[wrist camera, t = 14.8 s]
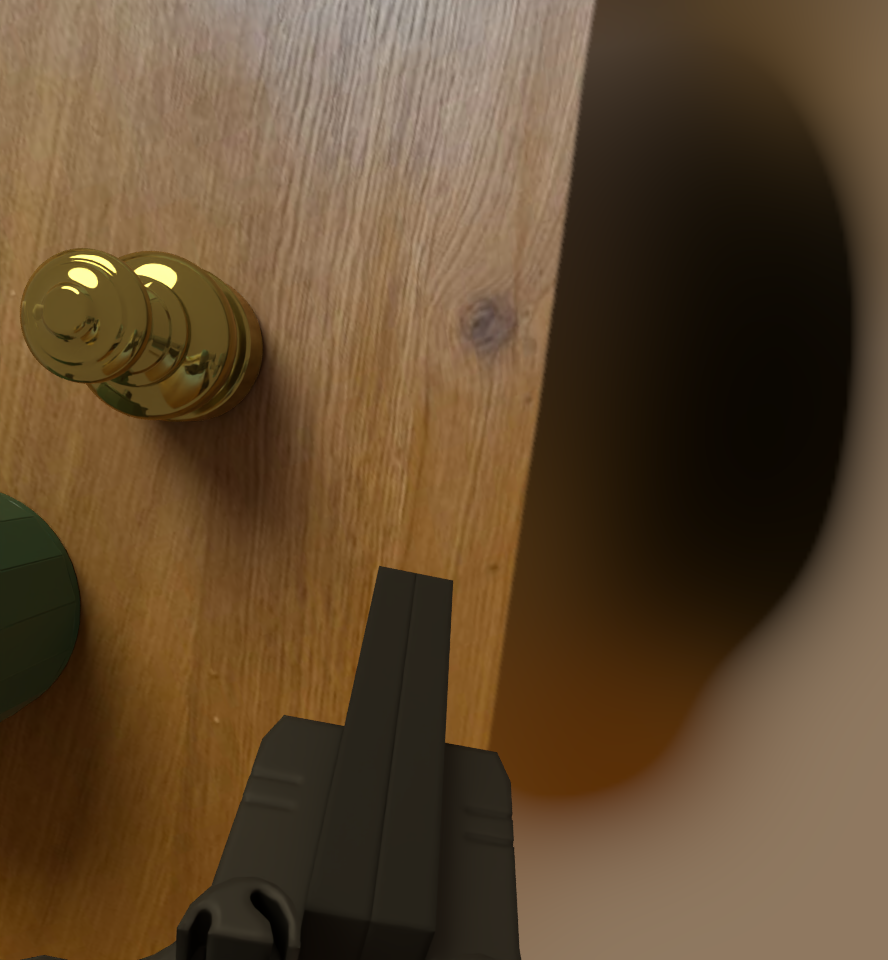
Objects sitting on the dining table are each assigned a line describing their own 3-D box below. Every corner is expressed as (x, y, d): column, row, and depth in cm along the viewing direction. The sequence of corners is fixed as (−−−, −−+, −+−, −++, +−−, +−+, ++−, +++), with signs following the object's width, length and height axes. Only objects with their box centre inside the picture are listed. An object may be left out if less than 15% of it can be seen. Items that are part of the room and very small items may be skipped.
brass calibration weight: (263, 426, 33) (160, 420, 24) (121, 418, 34) (-37, 409, 24) (269, 277, 33) (167, 206, 23) (125, 271, 34) (-34, 200, 24)
